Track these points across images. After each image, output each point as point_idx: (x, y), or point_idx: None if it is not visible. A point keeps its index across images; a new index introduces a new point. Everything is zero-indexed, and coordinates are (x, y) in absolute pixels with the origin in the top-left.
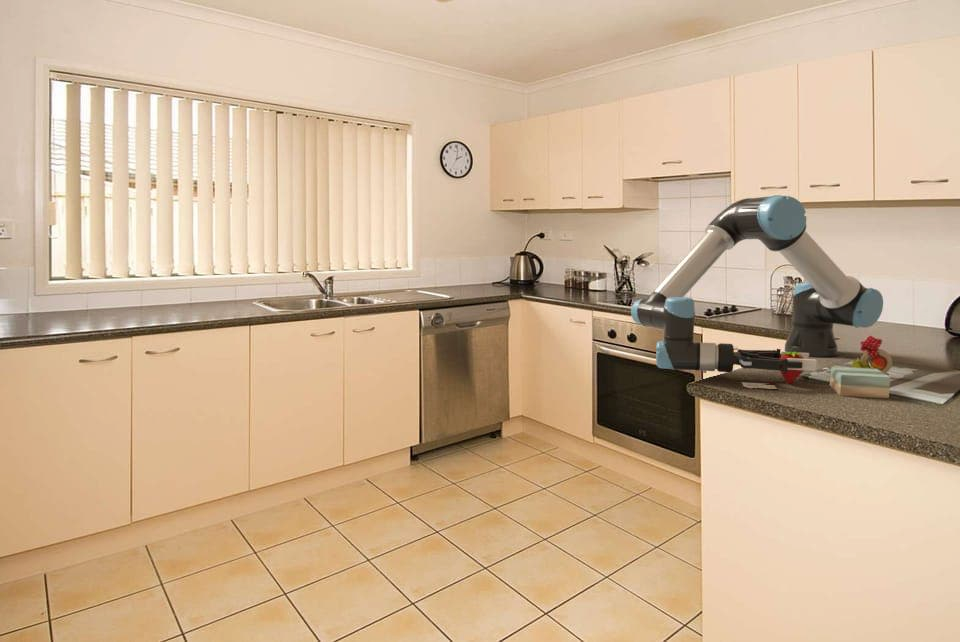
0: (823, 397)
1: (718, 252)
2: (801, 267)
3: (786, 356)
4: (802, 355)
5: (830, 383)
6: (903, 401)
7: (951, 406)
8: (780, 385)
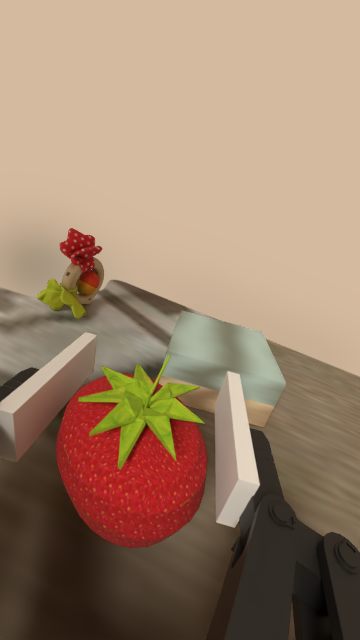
0: (312, 484)
1: None
2: None
3: (161, 450)
4: (84, 356)
5: None
6: None
7: None
8: (150, 596)
